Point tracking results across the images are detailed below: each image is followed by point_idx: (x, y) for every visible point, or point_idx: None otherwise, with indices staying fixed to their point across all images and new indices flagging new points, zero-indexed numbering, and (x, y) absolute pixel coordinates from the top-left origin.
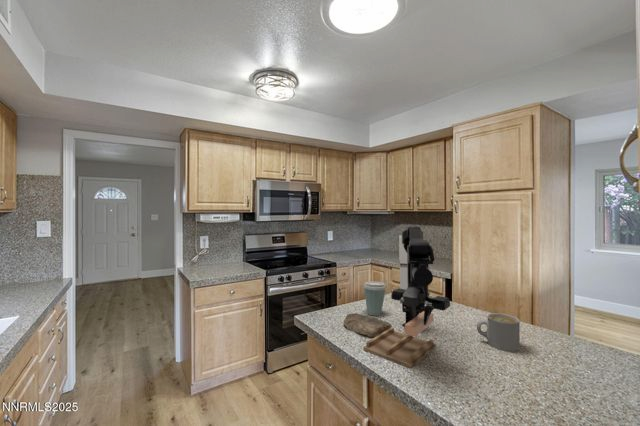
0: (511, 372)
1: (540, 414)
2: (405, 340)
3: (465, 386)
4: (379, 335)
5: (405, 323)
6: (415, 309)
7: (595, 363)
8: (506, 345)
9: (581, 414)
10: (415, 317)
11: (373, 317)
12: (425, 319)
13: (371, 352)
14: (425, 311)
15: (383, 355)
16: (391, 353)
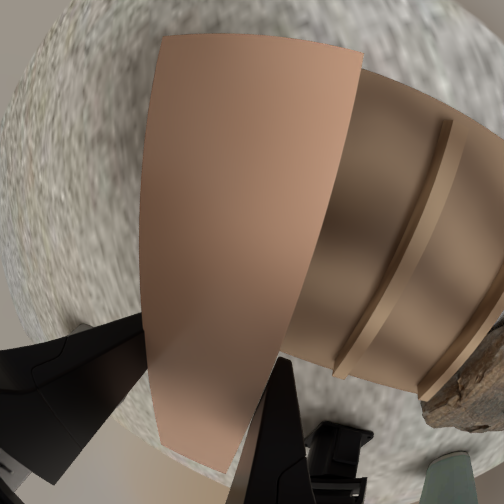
0: (53, 219)
1: (26, 80)
2: (371, 309)
3: (108, 65)
4: (501, 305)
5: (361, 442)
6: (230, 489)
7: (24, 302)
8: (77, 332)
9: (4, 128)
10: (250, 403)
11: (483, 431)
12: (111, 329)
13: None
14: (21, 376)
15: (466, 116)
16: (434, 146)
